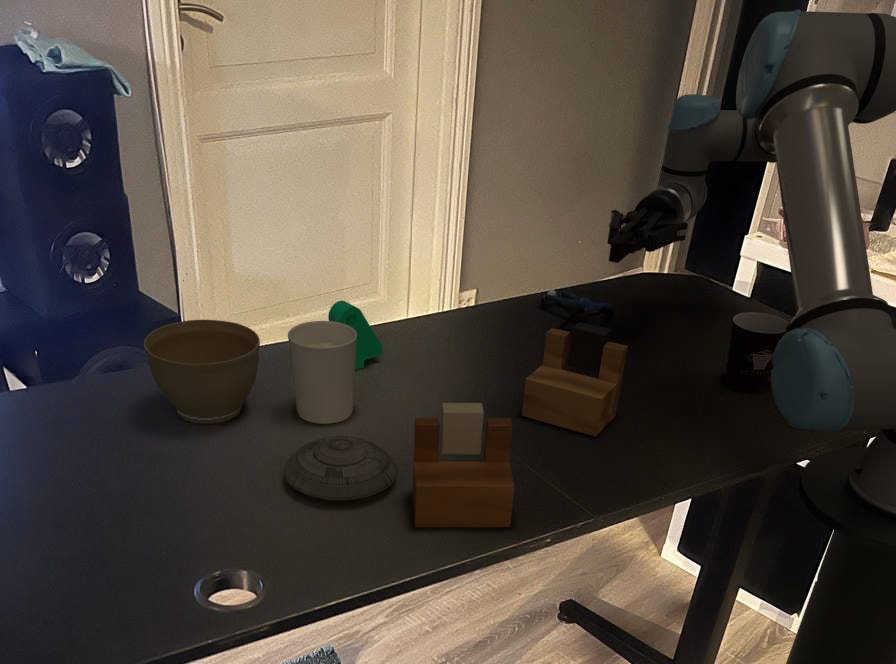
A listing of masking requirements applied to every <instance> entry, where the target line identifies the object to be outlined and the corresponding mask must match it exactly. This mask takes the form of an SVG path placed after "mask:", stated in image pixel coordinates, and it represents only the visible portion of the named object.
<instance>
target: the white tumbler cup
mask: <svg viewBox="0 0 896 664" xmlns="http://www.w3.org/2000/svg"><path fill="white" fill-rule="evenodd" d="M287 339H288V346H289V356H290V363H291V373H292V382H293V391H294V399H295V408H296V412H297V415H298V417H300V418H301V419H302V420H304V421H306V422H309V423H312V424H318V425H330V424H336V423H341V422H343V421H346V420H348V419H349V418H350V417H351V416H352V414H353V410H354V400H355V399H354V397H355V396H354V395H355V379H356V377H355V376H356V369H355V359H356V340H357V333H356V331H355V330H354V329H353V328H352V327H350V326H348V325H346V324H343V323H339V322H333V321H329V320H313V321H305V322H302V323H298V324H296V325H294V326H293V327H292V328H290V329H289V330H288V332H287Z"/></svg>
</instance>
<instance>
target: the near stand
mask: <svg viewBox="0 0 896 664" xmlns="http://www.w3.org/2000/svg"><path fill="white" fill-rule="evenodd" d="M413 431H414V432H413V460H412V461H413V462H412V463H413V464H412V470H413V471H412V493H411V494H412V506H413V520H414V527H415V528H511V523H512V516H513V505H514V496H515V488H516V487H515V482H514V478H513V472H512V469H511V464H510V457H511V456H510V455H511V447H512V445H511V444H512V435H513V422H512V418H511V417H509V418H508V417H487V418H486V423H485V434H484V435H485V436H484V446H483V448H484V449H483V461H439V452H440V451H439V450H440V433H441V422H440V418H439V417H414V430H413Z"/></svg>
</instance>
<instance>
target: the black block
mask: <svg viewBox="0 0 896 664" xmlns="http://www.w3.org/2000/svg"><path fill="white" fill-rule="evenodd" d="M611 333H612V329H611V328H607V327H603V326H598V325H594V324H590V323H586V322H581V321H580V322H579V323H577V324H576V325H574V327H572V333H571V340H570V347H569V356H568V363H567V365H568V366H570V367H574V368H577V369H581V370H586V371H589V372H593V373H594V372H595V373H597V374H599V372H600V365H601V359H602V352H603V346H604V345H605V344H606V343H608V342H611V335H612V334H611Z"/></svg>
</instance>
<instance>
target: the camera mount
mask: <svg viewBox="0 0 896 664" xmlns="http://www.w3.org/2000/svg"><path fill="white" fill-rule="evenodd" d="M327 317H328V318H327V319H328V321H333V322H339V323H343V324H346V325H348V326H350V327H352V328H353V329H354V330H355V331H356V333H357V340H356V359H355V363H356V364H355V370H359V369H363V368H365V361H368V360H371V359H370V358H372V359H374V358H373V357H375V358H377V357H376V356H379V355H382V356H383V345H382V343H381V341H380V340H379V338H378V336H377V335H376V333H375V332H374V330H373V329H372V327H371V325H370V324H369V322H368V320H367V318H366V317H365V315H364V313H363V312H362V310H361V309H360V308H359V307H357V306H355V305H353V304H352V303H350V302H348V301H345V300H338V301H335V303H333V304H332V305H331V307H330V309H329V311H328V316H327ZM379 357H380V356H379ZM367 359H368V360H367ZM364 360H365V361H364ZM360 361H363V362H360ZM357 362H359V363H357Z"/></svg>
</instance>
